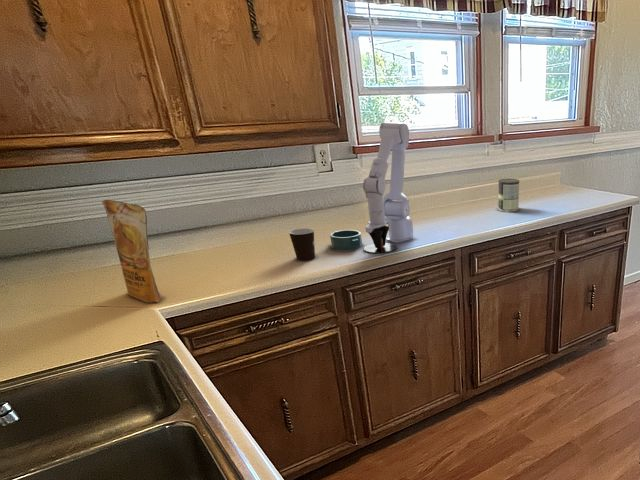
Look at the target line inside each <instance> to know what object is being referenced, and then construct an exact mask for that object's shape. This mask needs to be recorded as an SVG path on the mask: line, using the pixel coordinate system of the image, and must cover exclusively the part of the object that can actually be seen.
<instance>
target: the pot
mask: <svg viewBox="0 0 640 480" xmlns="http://www.w3.org/2000/svg"><path fill="white" fill-rule="evenodd" d="M329 236H330V245H331V249H333V250H336V251H353V250H357V249H360V248H361V247H363V240H362V232H361V231H359V230H356V229H343V230H342V229H341V230H336V231H335V230H334V231H333V232H331V233H330V234H329Z"/></svg>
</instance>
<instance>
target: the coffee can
mask: <svg viewBox="0 0 640 480" xmlns="http://www.w3.org/2000/svg"><path fill="white" fill-rule="evenodd" d="M519 195H520V180H519V179H517V178H501V179H498V203H497V204H498V206H497V209H498V211H500V212H506V213H507V212H509V213H512V212H513V213H514V212H516V211H519Z"/></svg>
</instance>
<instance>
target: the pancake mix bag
mask: <svg viewBox="0 0 640 480" xmlns="http://www.w3.org/2000/svg"><path fill="white" fill-rule="evenodd" d="M101 203H102V205H103V207H104V209H105V213H106V217H107V219H108V223H109V227H110V230H111V234H112V236H113V241H114V244H115V249H116V252H117V256H118V260H119V263H120V266H121V272H122V275H123V279H124V283H125V287H126V290H127V293H128V295H129V296H130V297H132V298H134V299H137V300H139V301H141V302H144V303H145V304H152V303H160V302H161V301H162V296H161V294H160V292H159V288H158V286H157V285H158V284H157V283H156V280H155V276H154V273H153V269H152V266H151V259H150V258H151V257H150V249H149V247H150V246H149V239H148V216H147V211H146V209H145V208H144V207H142V205H141V206H140V205H139V204H133V203H128V202H123V201H119V200H113V199H104V200H102V201H101Z"/></svg>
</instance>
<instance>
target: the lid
mask: <svg viewBox="0 0 640 480" xmlns="http://www.w3.org/2000/svg"><path fill="white" fill-rule="evenodd" d="M397 249H398V246H397V245H396V244H394V243H390V242H385V246H383V238H381V248H375V245H374V243H370V244H368V245H365V246H364V247H363V251H364V252H365V253H368V254H375V255H376V254H380V255H381V254H387V253H393V252H395V251H396V250H397Z"/></svg>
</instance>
